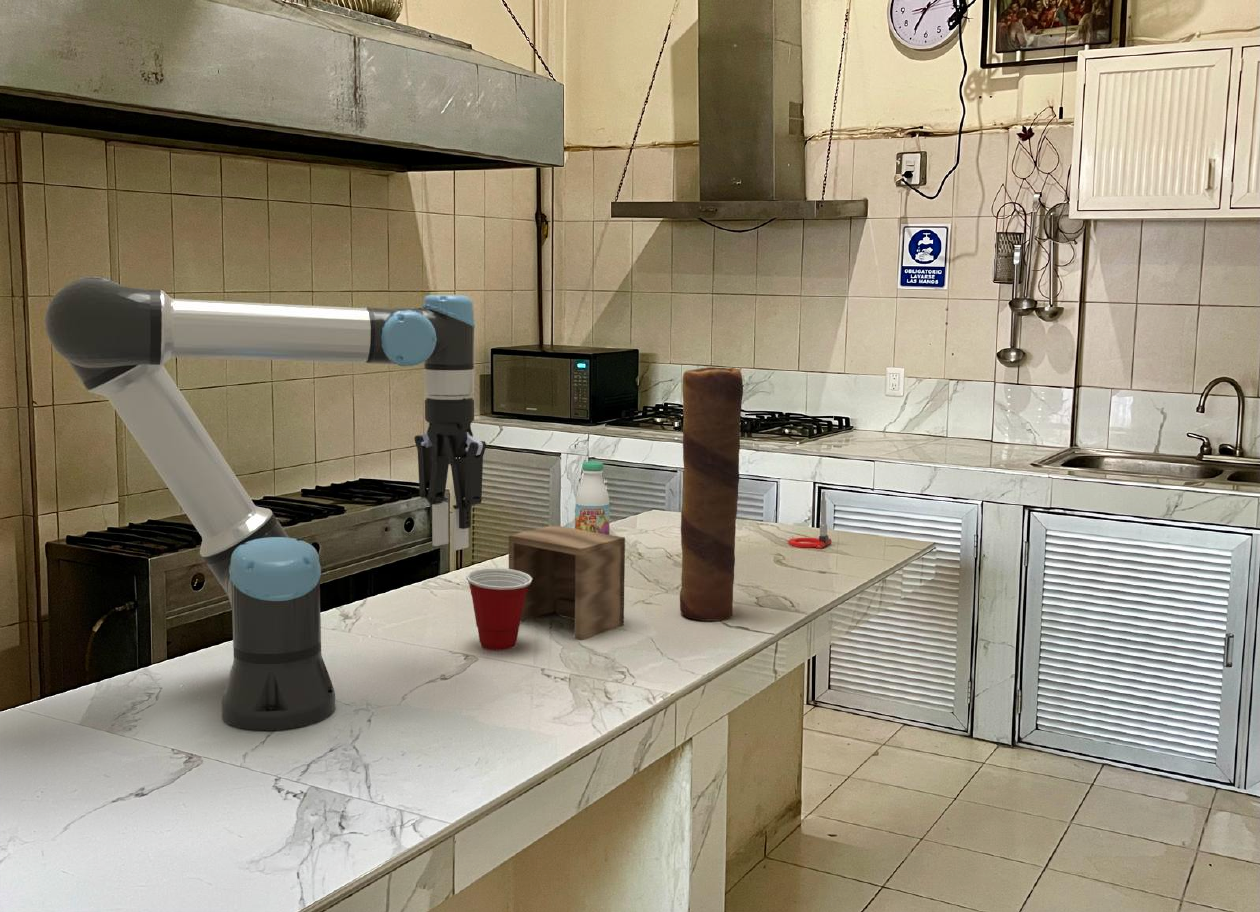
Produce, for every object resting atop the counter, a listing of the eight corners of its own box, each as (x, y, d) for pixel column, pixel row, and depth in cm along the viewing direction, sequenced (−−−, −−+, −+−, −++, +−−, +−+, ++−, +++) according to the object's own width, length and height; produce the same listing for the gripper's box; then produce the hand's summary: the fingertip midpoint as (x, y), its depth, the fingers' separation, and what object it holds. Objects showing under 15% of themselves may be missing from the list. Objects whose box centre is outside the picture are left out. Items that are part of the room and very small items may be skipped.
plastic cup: (502, 660, 192) (502, 586, 190) (452, 647, 198) (452, 576, 197) (545, 644, 201) (546, 573, 199) (496, 632, 207) (496, 564, 205)
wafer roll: (729, 625, 213) (736, 370, 207) (671, 619, 217) (676, 368, 210) (743, 611, 223) (750, 367, 217) (688, 605, 226) (693, 365, 220)
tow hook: (782, 547, 280) (820, 550, 276) (782, 492, 279) (820, 494, 274) (796, 541, 287) (833, 544, 283) (795, 487, 286) (833, 489, 281)
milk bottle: (571, 547, 274) (571, 460, 272) (603, 545, 277) (604, 459, 274) (579, 554, 267) (580, 465, 264) (613, 553, 269) (614, 464, 267)
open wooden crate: (580, 640, 203) (581, 548, 201) (508, 622, 213) (508, 535, 211) (623, 624, 213) (625, 537, 210) (553, 608, 223) (553, 525, 220)
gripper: (506, 398, 183) (506, 550, 186) (429, 391, 193) (430, 535, 196) (471, 402, 177) (472, 558, 180) (393, 394, 187) (395, 542, 190)
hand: (450, 546), depth 188 cm, fingers open, 4 cm apart
